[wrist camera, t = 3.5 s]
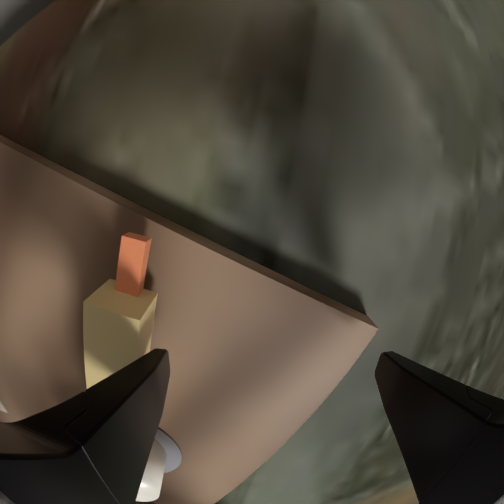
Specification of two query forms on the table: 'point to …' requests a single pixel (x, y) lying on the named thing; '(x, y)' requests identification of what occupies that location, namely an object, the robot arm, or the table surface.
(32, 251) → the tuner board
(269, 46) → the table surface
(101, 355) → the tuner pointer lever
